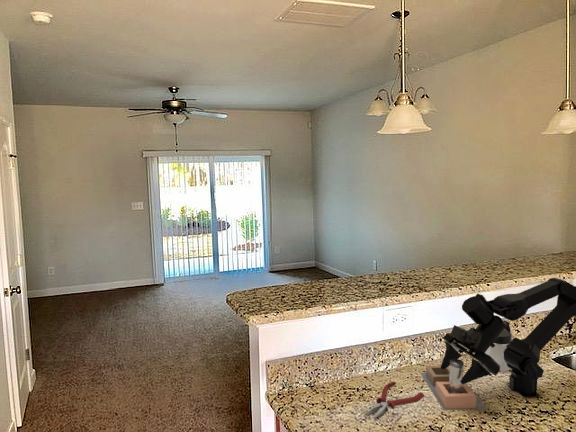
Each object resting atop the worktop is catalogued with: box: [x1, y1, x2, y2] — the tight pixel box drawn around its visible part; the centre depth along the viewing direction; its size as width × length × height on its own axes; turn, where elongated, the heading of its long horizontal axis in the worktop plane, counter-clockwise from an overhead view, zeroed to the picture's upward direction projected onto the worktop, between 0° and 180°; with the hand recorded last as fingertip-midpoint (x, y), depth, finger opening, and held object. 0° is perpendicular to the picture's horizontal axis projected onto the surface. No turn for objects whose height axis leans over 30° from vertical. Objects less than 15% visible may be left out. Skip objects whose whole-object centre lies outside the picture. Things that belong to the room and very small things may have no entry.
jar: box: [485, 330, 513, 373], centre depth 147 cm, size 9×8×12 cm
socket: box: [436, 382, 477, 409], centre depth 125 cm, size 8×8×4 cm
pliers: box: [364, 381, 425, 420], centre depth 126 cm, size 12×20×3 cm, turn 134°
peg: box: [449, 358, 464, 394], centre depth 125 cm, size 4×4×12 cm
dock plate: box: [420, 365, 488, 411], centre depth 131 cm, size 12×22×4 cm, turn 179°
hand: (451, 375), depth 124 cm, fingers open, 9 cm apart
